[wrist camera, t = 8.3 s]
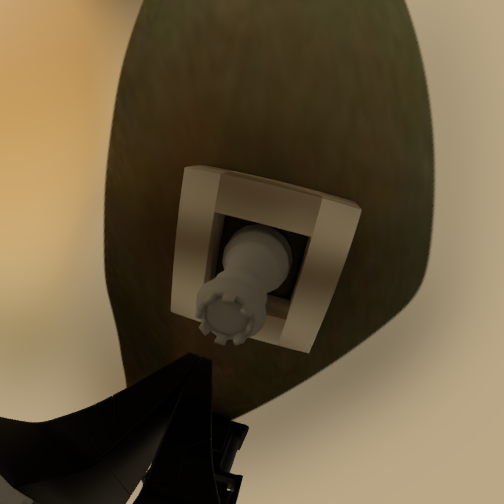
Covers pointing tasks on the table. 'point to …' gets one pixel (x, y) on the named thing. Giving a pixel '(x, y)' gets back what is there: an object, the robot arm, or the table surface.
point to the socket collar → (272, 214)
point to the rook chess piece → (244, 284)
